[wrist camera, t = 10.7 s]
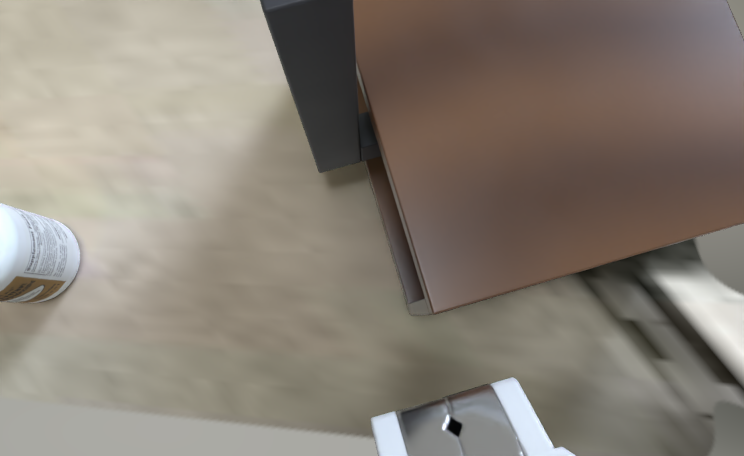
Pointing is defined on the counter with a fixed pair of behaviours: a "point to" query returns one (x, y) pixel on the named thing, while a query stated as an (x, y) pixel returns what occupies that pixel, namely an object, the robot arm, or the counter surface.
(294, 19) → the sliding door
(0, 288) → the pill bottle
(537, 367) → the counter surface
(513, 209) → the cupboard
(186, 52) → the counter surface
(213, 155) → the counter surface
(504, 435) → the robot arm
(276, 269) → the counter surface
